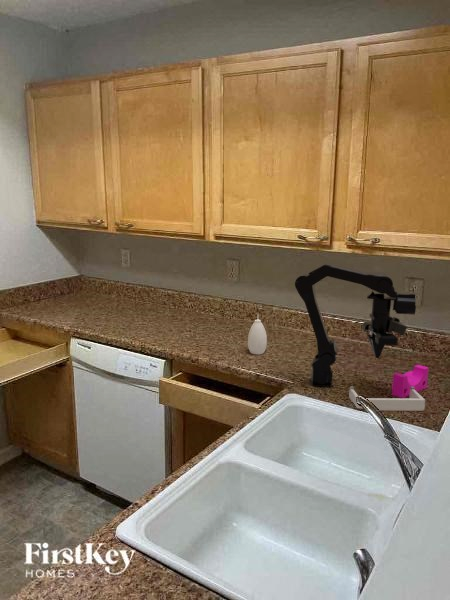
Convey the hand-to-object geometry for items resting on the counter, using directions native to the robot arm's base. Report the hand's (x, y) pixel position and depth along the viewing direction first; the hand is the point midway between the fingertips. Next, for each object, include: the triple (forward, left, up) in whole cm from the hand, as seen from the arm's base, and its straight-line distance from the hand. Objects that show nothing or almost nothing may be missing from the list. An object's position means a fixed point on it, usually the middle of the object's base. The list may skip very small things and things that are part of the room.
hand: (377, 357), depth 156 cm
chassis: (0, -10, -12) cm, 15 cm away
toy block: (+11, +1, -12) cm, 17 cm away
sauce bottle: (-37, +36, -12) cm, 53 cm away
